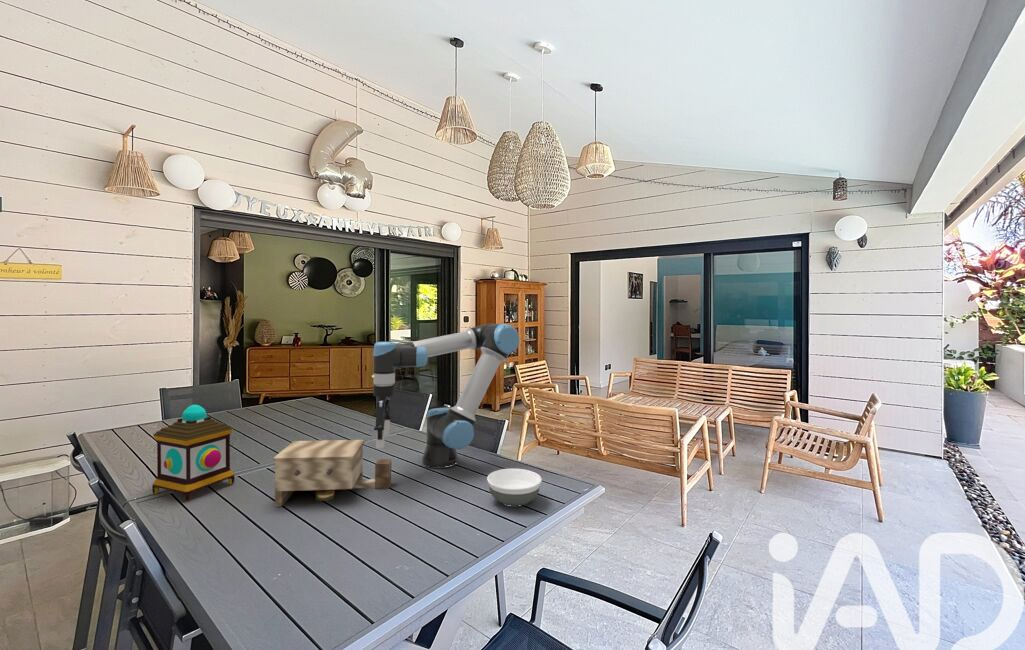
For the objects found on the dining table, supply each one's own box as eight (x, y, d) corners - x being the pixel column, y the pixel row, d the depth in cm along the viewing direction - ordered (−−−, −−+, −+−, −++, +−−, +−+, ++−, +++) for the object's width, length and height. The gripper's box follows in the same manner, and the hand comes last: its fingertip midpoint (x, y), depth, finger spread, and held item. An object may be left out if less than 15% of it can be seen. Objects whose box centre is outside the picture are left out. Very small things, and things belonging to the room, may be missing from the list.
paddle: (391, 483, 167) (391, 459, 167) (389, 488, 162) (389, 463, 162) (315, 485, 164) (315, 460, 164) (310, 490, 159) (310, 465, 159)
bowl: (501, 518, 141) (501, 492, 140) (477, 496, 157) (478, 472, 157) (551, 507, 149) (552, 483, 149) (524, 487, 166) (525, 465, 166)
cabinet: (364, 482, 168) (364, 439, 167) (352, 505, 148) (352, 457, 147) (293, 484, 164) (293, 441, 164) (271, 508, 145) (271, 459, 144)
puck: (336, 494, 157) (336, 487, 157) (332, 501, 151) (332, 494, 151) (318, 494, 156) (318, 487, 156) (313, 501, 150) (313, 494, 150)
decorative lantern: (144, 495, 153) (143, 407, 152) (202, 475, 171) (202, 397, 170) (185, 505, 146) (184, 413, 145) (241, 483, 164) (240, 401, 163)
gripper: (379, 379, 175) (378, 433, 176) (366, 390, 150) (365, 453, 151) (398, 379, 176) (397, 432, 177) (389, 390, 151) (388, 453, 152)
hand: (383, 442), depth 164 cm, fingers open, 13 cm apart
